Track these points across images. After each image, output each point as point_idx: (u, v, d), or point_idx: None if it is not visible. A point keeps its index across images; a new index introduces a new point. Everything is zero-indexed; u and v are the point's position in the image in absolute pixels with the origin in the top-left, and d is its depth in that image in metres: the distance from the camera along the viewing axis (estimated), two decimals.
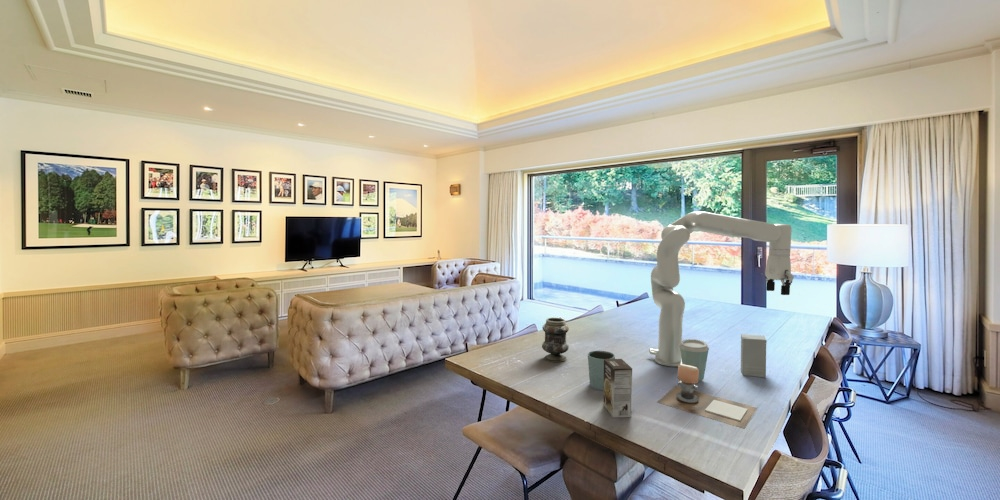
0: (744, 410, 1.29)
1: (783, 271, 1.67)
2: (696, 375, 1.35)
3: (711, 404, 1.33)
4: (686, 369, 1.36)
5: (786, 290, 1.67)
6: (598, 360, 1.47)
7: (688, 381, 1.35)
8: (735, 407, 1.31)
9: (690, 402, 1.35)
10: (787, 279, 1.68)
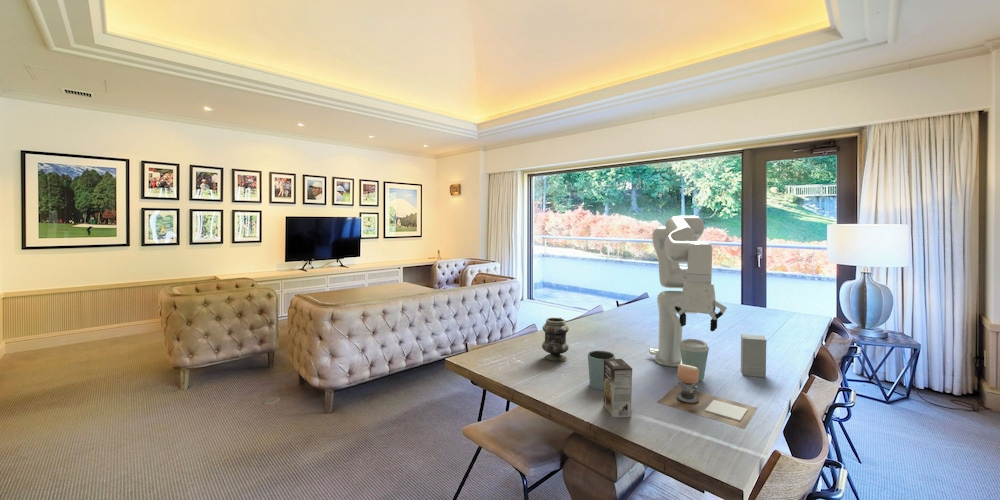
0: (744, 410, 1.29)
1: (713, 302, 1.34)
2: (696, 375, 1.35)
3: (711, 404, 1.33)
4: (686, 369, 1.36)
5: (716, 325, 1.34)
6: (598, 360, 1.47)
7: (688, 381, 1.35)
8: (735, 407, 1.31)
9: (690, 402, 1.35)
10: (713, 311, 1.36)
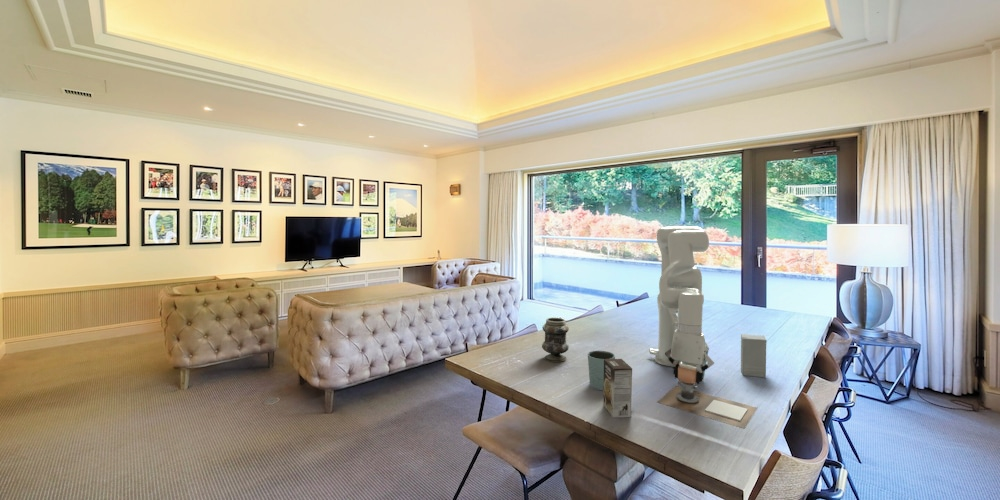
0: (744, 410, 1.29)
1: (703, 353, 1.32)
2: None
3: (711, 404, 1.33)
4: (686, 369, 1.36)
5: (702, 377, 1.34)
6: (598, 360, 1.47)
7: (688, 381, 1.35)
8: (735, 407, 1.31)
9: (690, 402, 1.35)
10: None
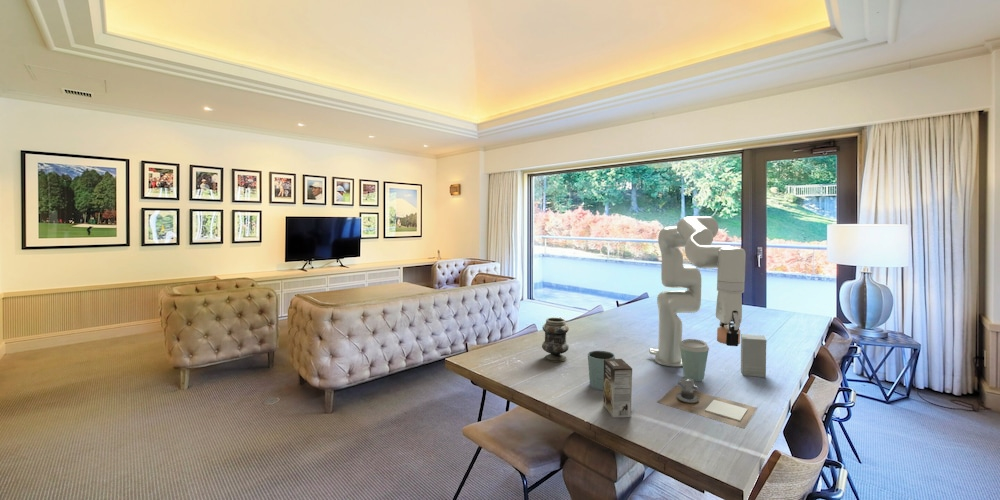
0: (744, 410, 1.29)
1: (730, 312, 1.23)
2: None
3: (711, 404, 1.33)
4: (723, 329, 1.28)
5: (732, 340, 1.24)
6: (598, 360, 1.47)
7: (719, 340, 1.28)
8: (735, 407, 1.31)
9: (690, 402, 1.35)
10: None
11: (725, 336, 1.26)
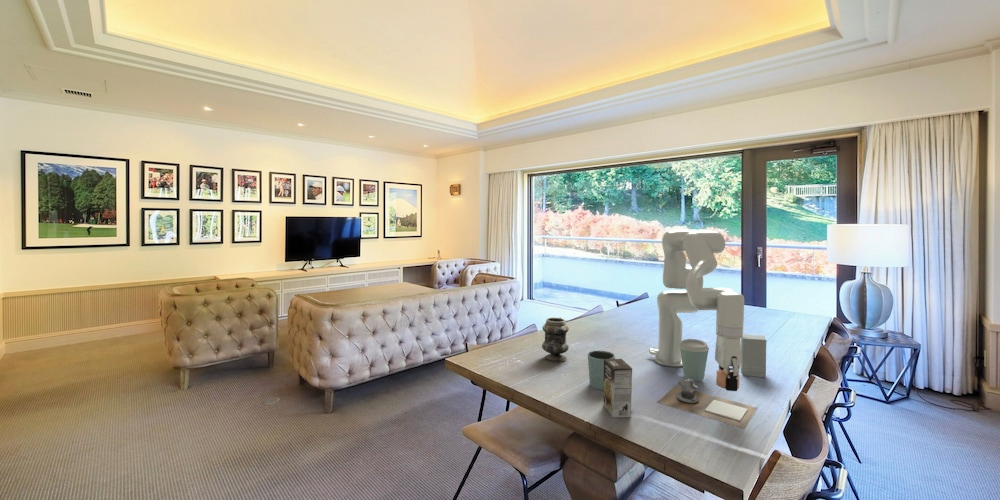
0: (744, 410, 1.29)
1: (729, 358, 1.24)
2: None
3: (711, 404, 1.33)
4: (722, 372, 1.29)
5: (731, 385, 1.25)
6: (598, 360, 1.47)
7: (718, 384, 1.29)
8: (735, 407, 1.31)
9: (690, 402, 1.35)
10: None
11: (724, 380, 1.27)
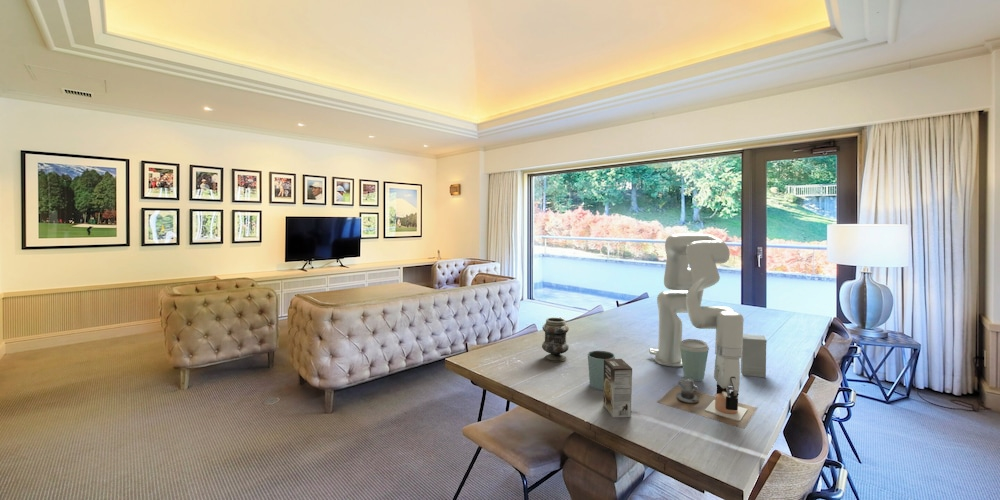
0: (744, 410, 1.29)
1: (728, 378, 1.24)
2: None
3: (711, 404, 1.33)
4: (721, 396, 1.30)
5: (732, 404, 1.24)
6: (598, 360, 1.47)
7: (717, 408, 1.29)
8: None
9: (690, 402, 1.35)
10: None
11: (723, 405, 1.27)
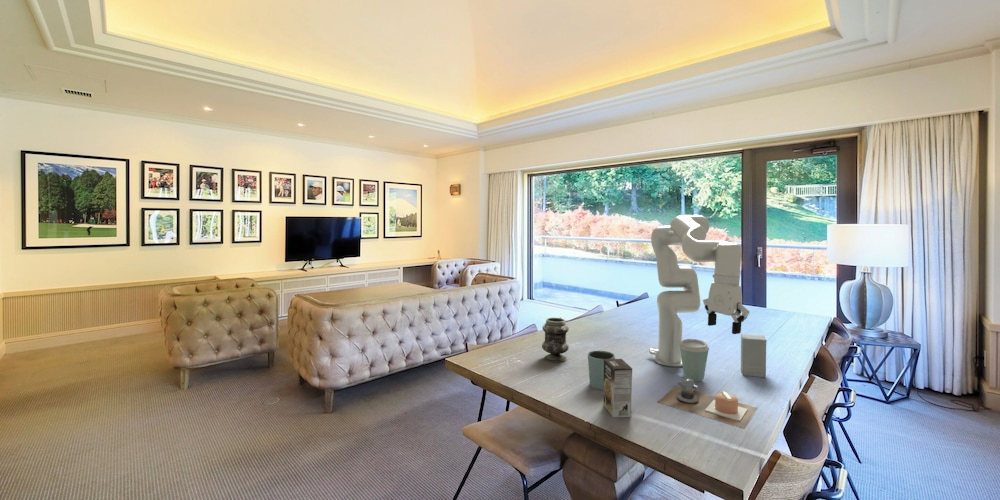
0: (744, 410, 1.29)
1: (735, 304, 1.31)
2: (726, 405, 1.27)
3: (711, 404, 1.33)
4: (721, 396, 1.30)
5: (738, 328, 1.31)
6: (598, 360, 1.47)
7: (717, 408, 1.29)
8: None
9: (690, 402, 1.35)
10: (738, 314, 1.32)
11: (723, 405, 1.27)
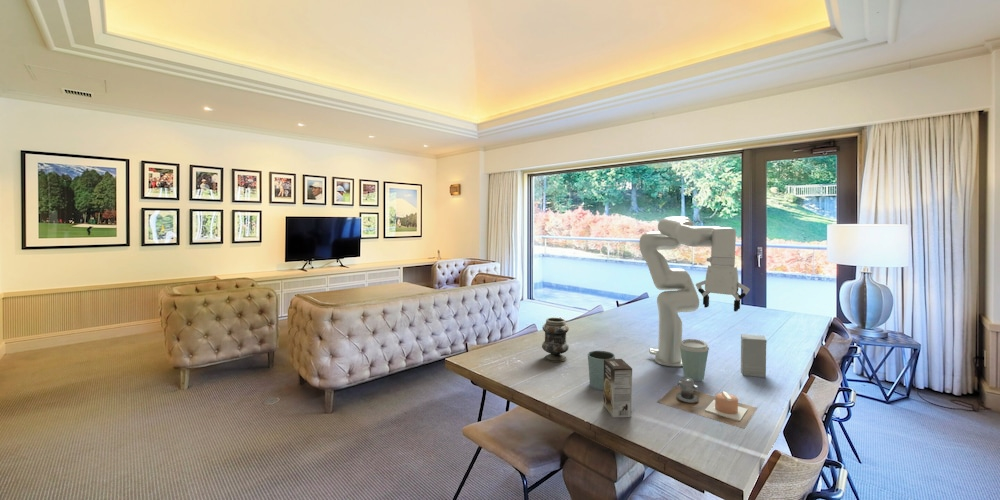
0: (744, 410, 1.29)
1: (736, 283, 1.41)
2: (726, 405, 1.27)
3: (711, 404, 1.33)
4: (721, 396, 1.30)
5: (739, 305, 1.41)
6: (598, 360, 1.47)
7: (717, 408, 1.29)
8: None
9: (690, 402, 1.35)
10: (736, 292, 1.43)
11: (723, 405, 1.27)
